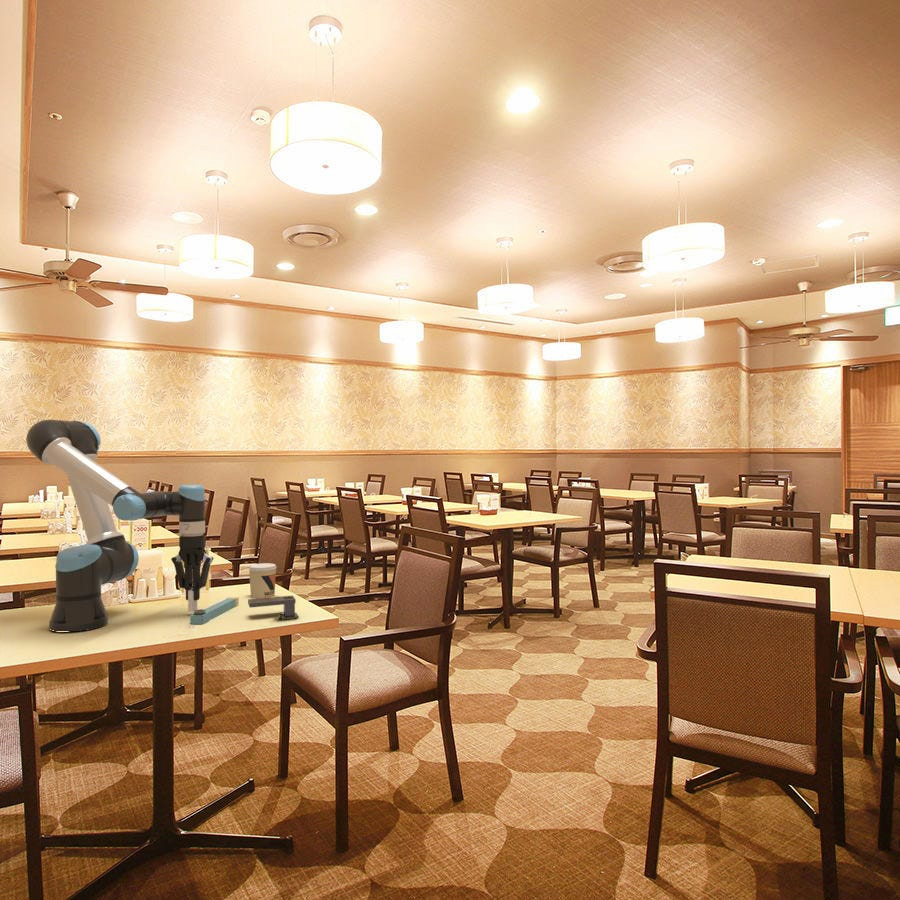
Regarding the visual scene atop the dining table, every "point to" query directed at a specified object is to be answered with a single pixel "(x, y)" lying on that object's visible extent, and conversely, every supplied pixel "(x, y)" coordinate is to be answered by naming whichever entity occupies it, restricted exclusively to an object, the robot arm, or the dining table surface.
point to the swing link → (215, 610)
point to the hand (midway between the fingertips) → (192, 610)
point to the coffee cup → (262, 580)
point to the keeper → (286, 600)
